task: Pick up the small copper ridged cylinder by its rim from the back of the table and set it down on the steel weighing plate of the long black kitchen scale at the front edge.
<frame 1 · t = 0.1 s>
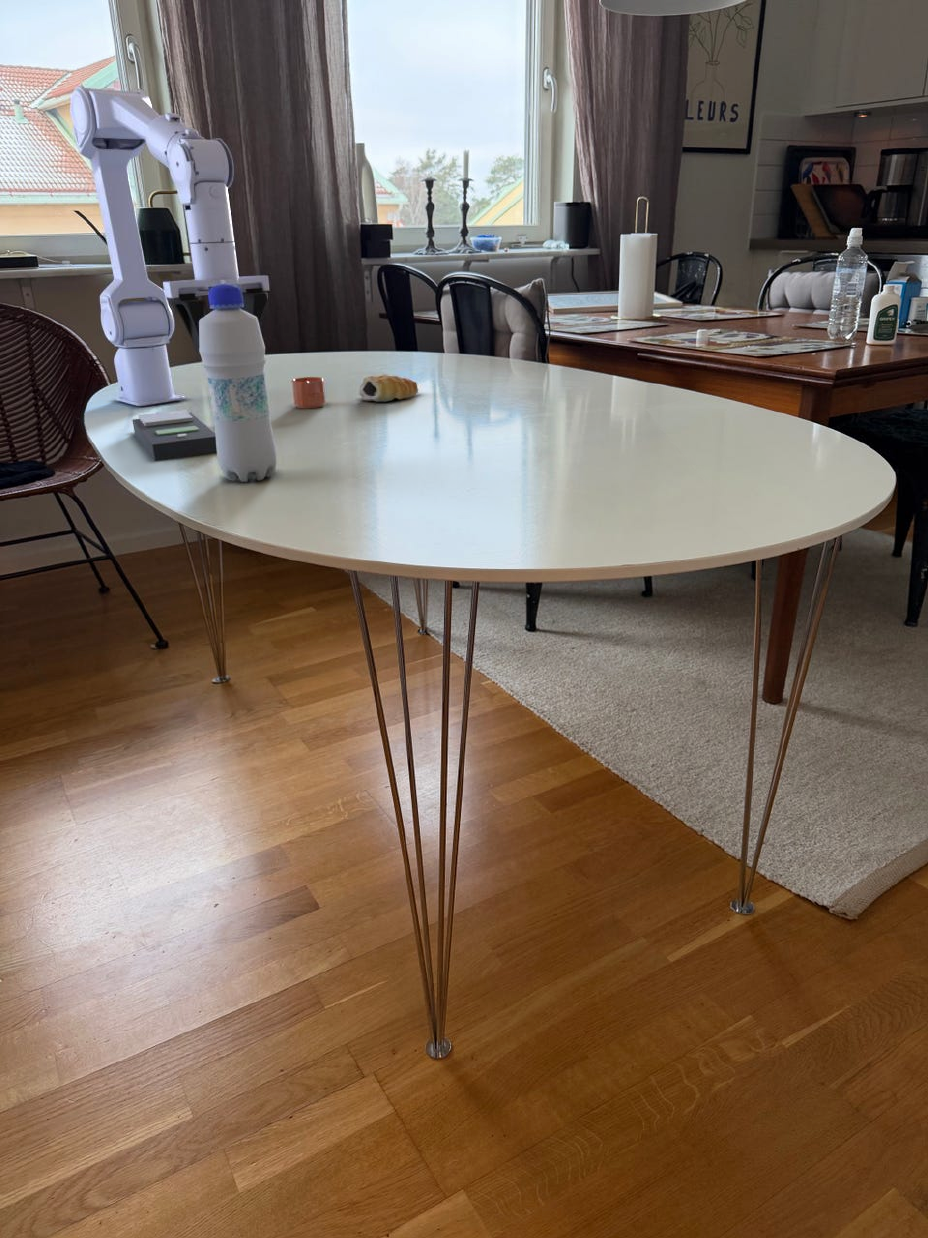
hand: (227, 350, 118), 10 cm above the table, tool pointing down, fingers open, 7 cm apart
bottle: (250, 478, 95), on the table
pastry: (388, 399, 137), on the table
copper ridged cylinder: (310, 405, 133), on the table
scale: (176, 442, 112), on the table
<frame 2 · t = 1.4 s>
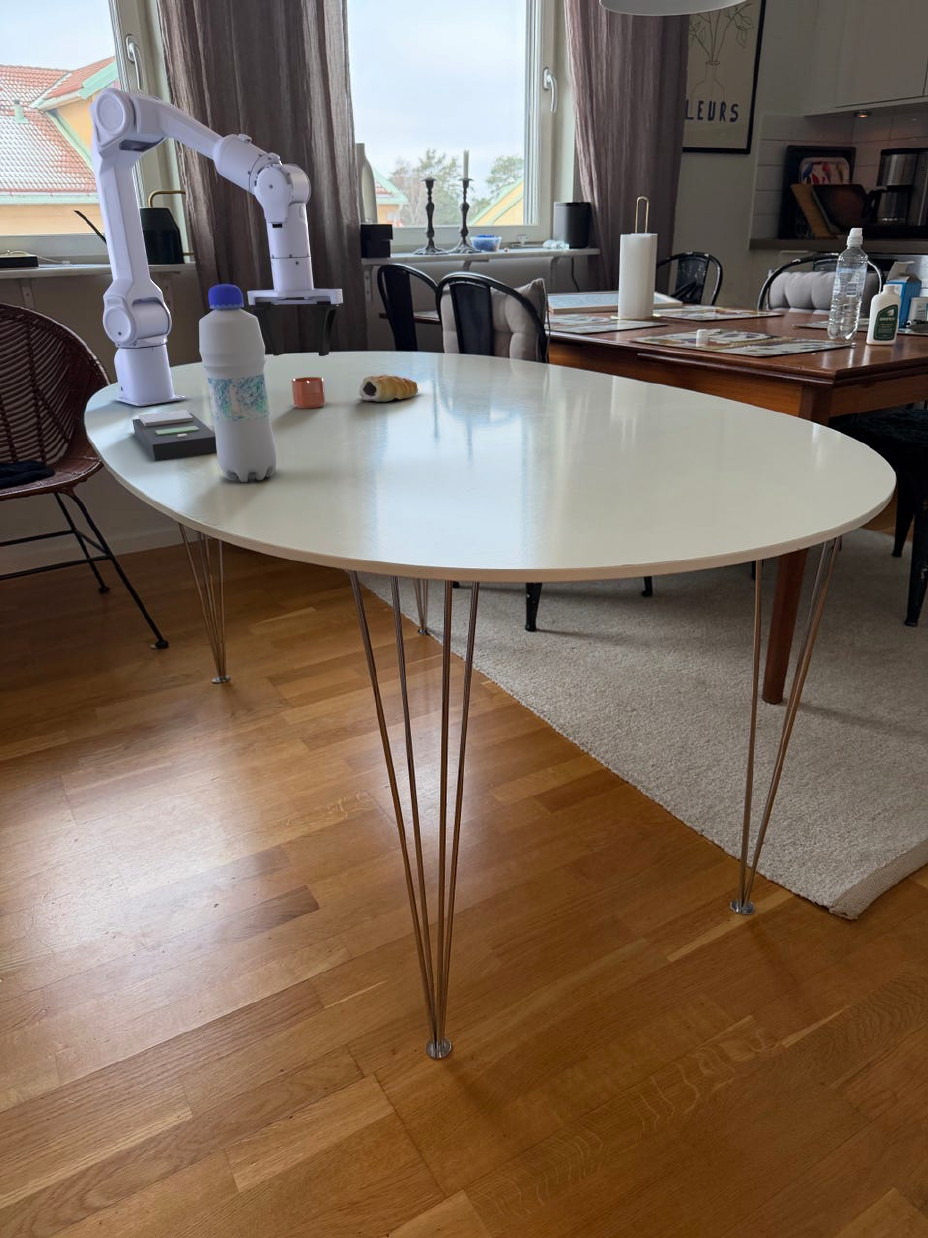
hand: (301, 354, 129), 8 cm above the table, tool pointing down, fingers open, 7 cm apart
nothing on the table moved.
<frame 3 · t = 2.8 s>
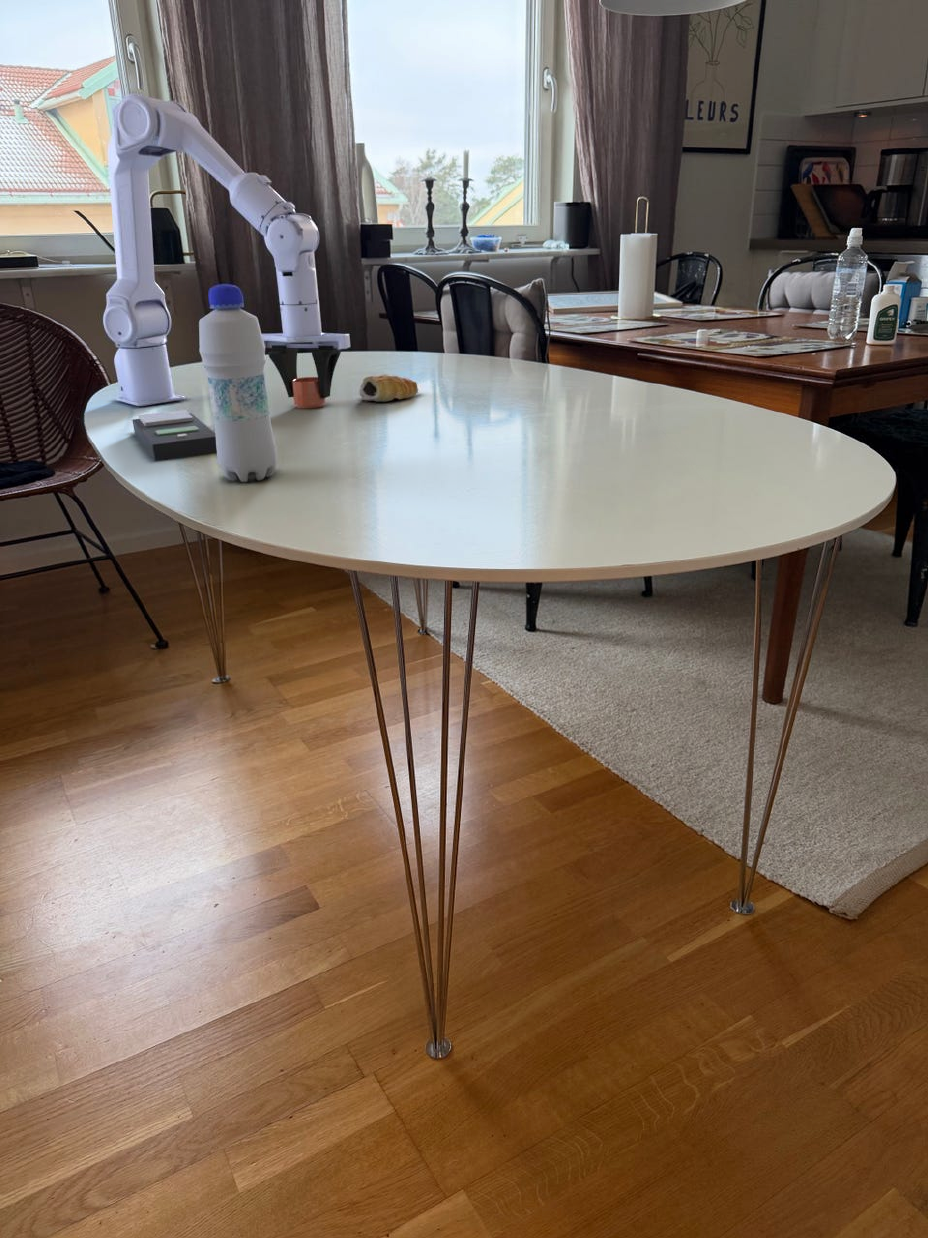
hand: (309, 396, 133), 1 cm above the table, tool pointing down, fingers closed on copper ridged cylinder, 5 cm apart
copper ridged cylinder: (310, 405, 133), on the table, touching gripper
everything else where it was.
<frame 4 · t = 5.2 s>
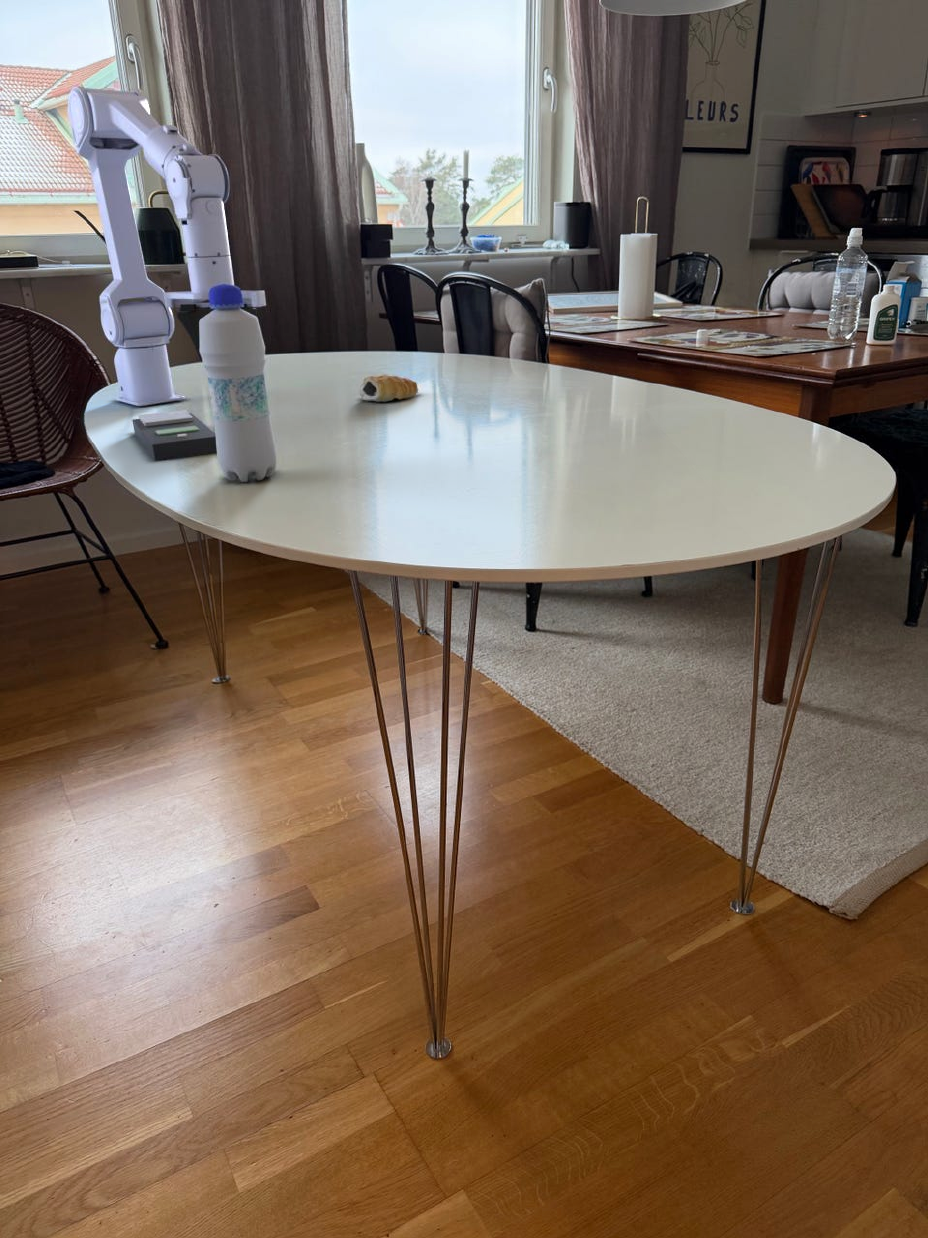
hand: (223, 361, 120), 8 cm above the table, tool pointing down, fingers closed on copper ridged cylinder, 5 cm apart
copper ridged cylinder: (225, 371, 121), point 7 cm above the table, touching gripper
everything else where it was.
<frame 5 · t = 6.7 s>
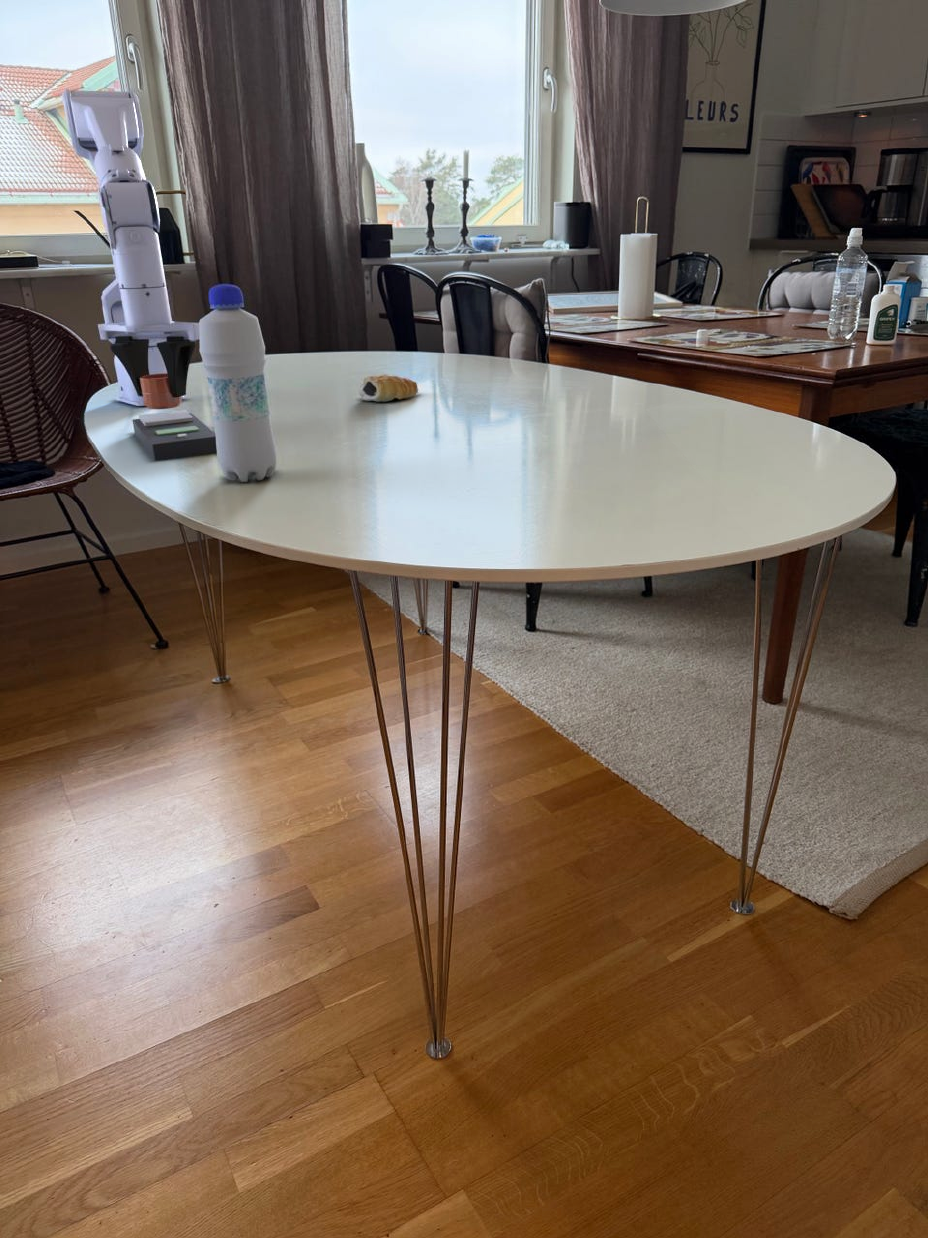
hand: (161, 395, 115), 5 cm above the table, tool pointing down, fingers closed on copper ridged cylinder, 5 cm apart
copper ridged cylinder: (163, 406, 115), point 4 cm above the table, touching gripper
everything else where it was.
when the fingers open (4 cm above the table, at t = 7.6 s): copper ridged cylinder stays where it is, resting on scale.
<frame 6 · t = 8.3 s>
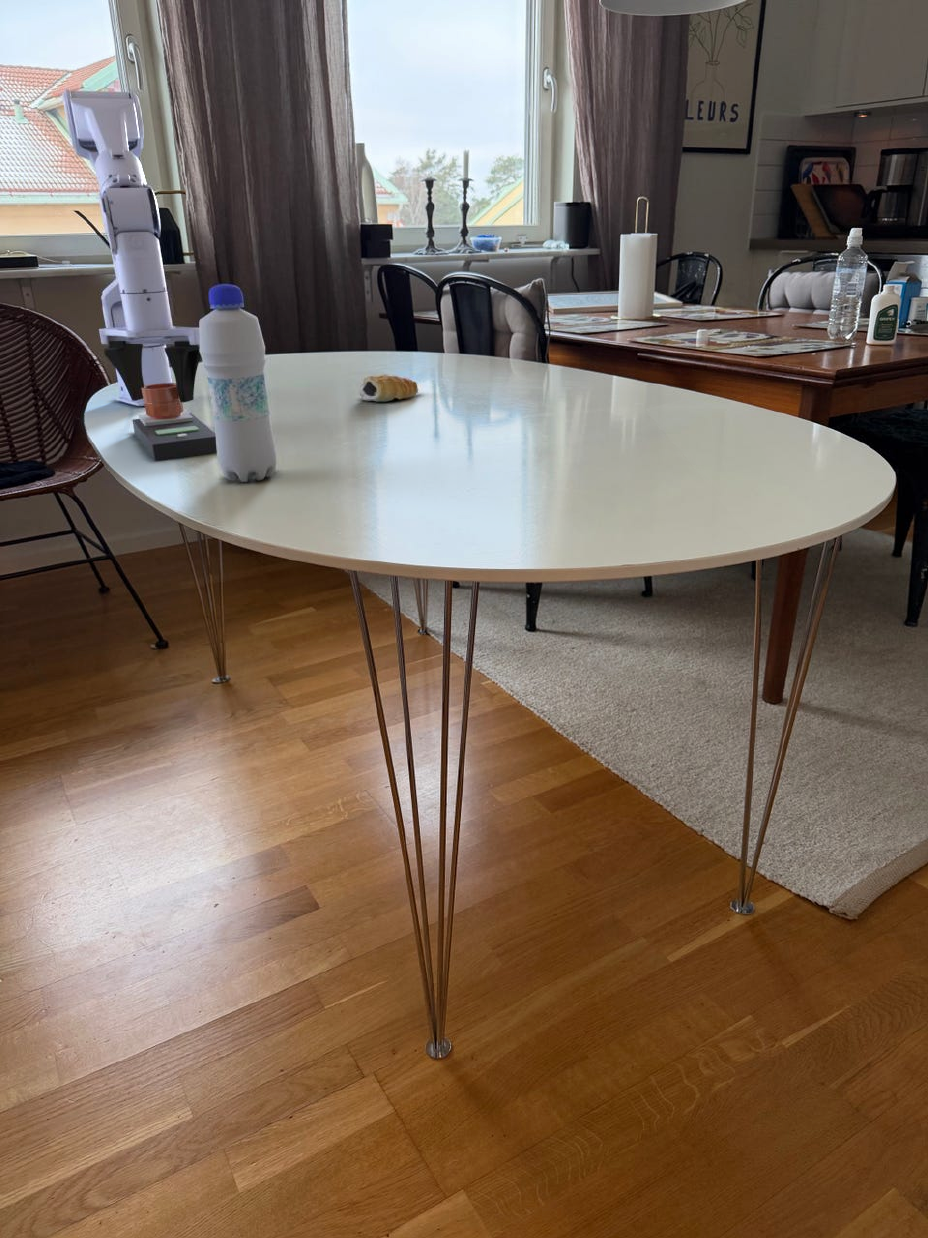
hand: (162, 400, 115), 5 cm above the table, tool pointing down, fingers open, 7 cm apart
copper ridged cylinder: (165, 416, 116), point 2 cm above the table, touching scale
everything else where it was.
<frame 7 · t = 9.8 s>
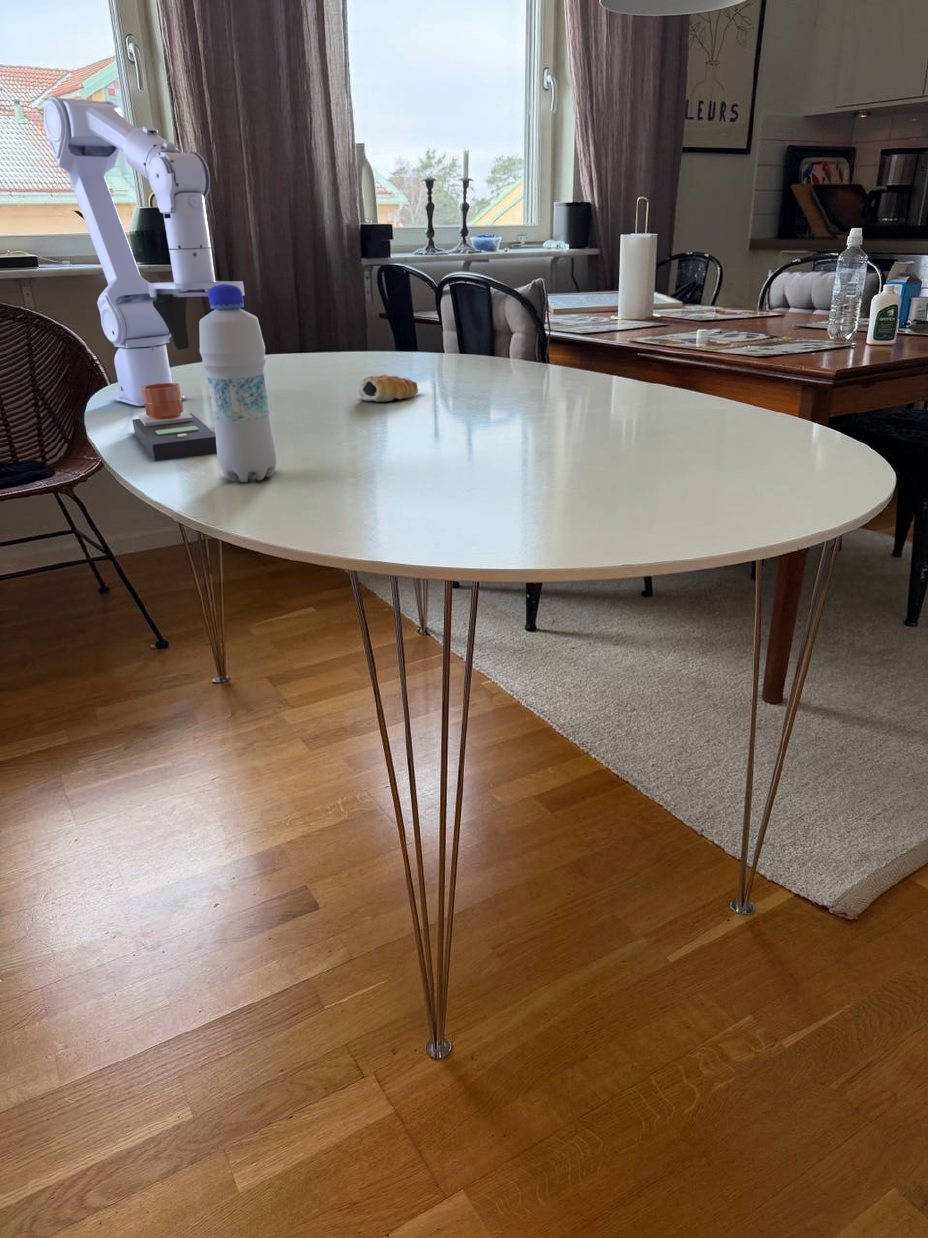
hand: (204, 348, 126), 9 cm above the table, tool pointing down, fingers open, 7 cm apart
nothing on the table moved.
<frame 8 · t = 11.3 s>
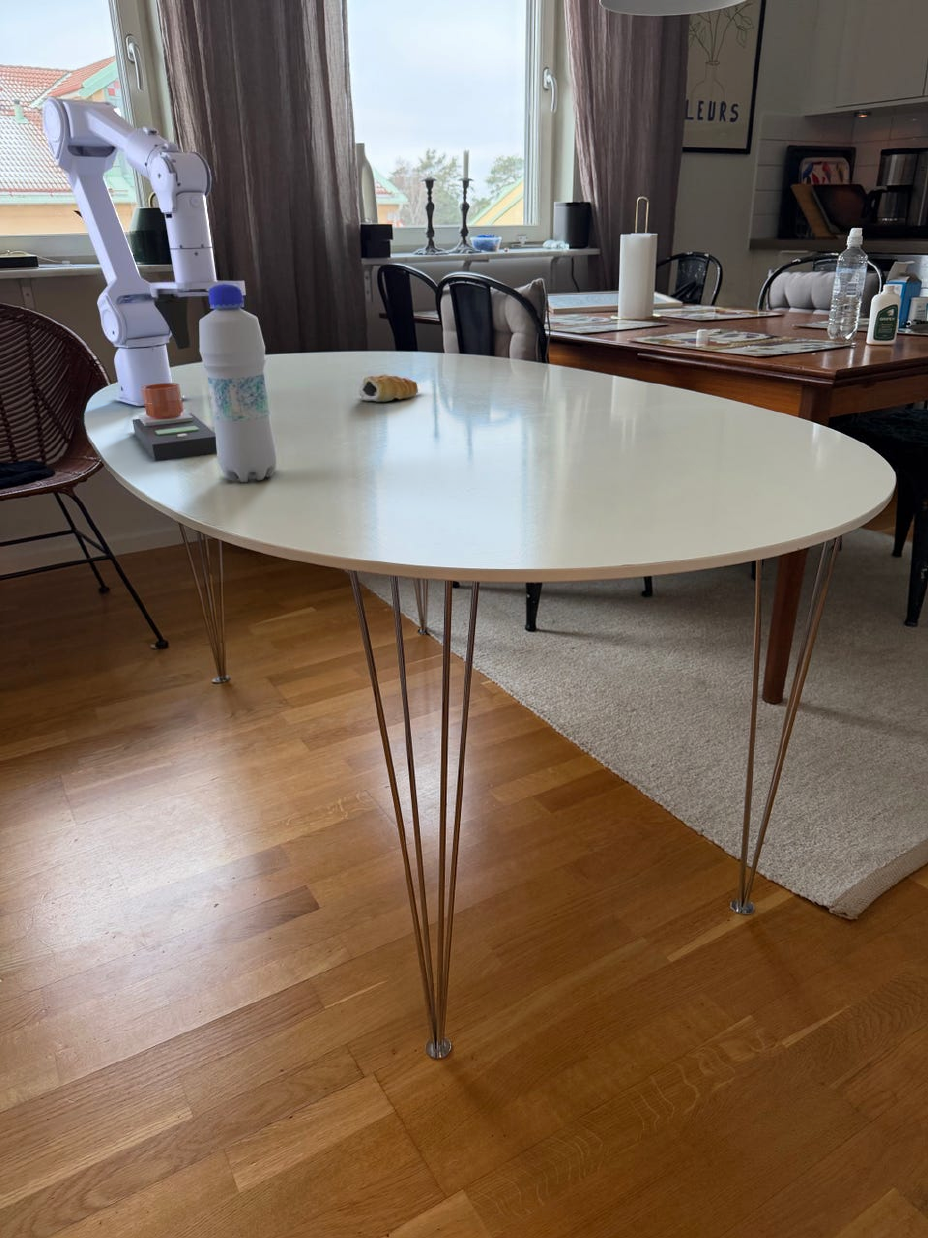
hand: (206, 348, 126), 9 cm above the table, tool pointing down, fingers open, 7 cm apart
nothing on the table moved.
at the end: copper ridged cylinder 0.0 cm from the target spot on the scale, point 2.5 cm above the scale's base; copper ridged cylinder tilted 0°; the gripper is holding nothing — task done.
